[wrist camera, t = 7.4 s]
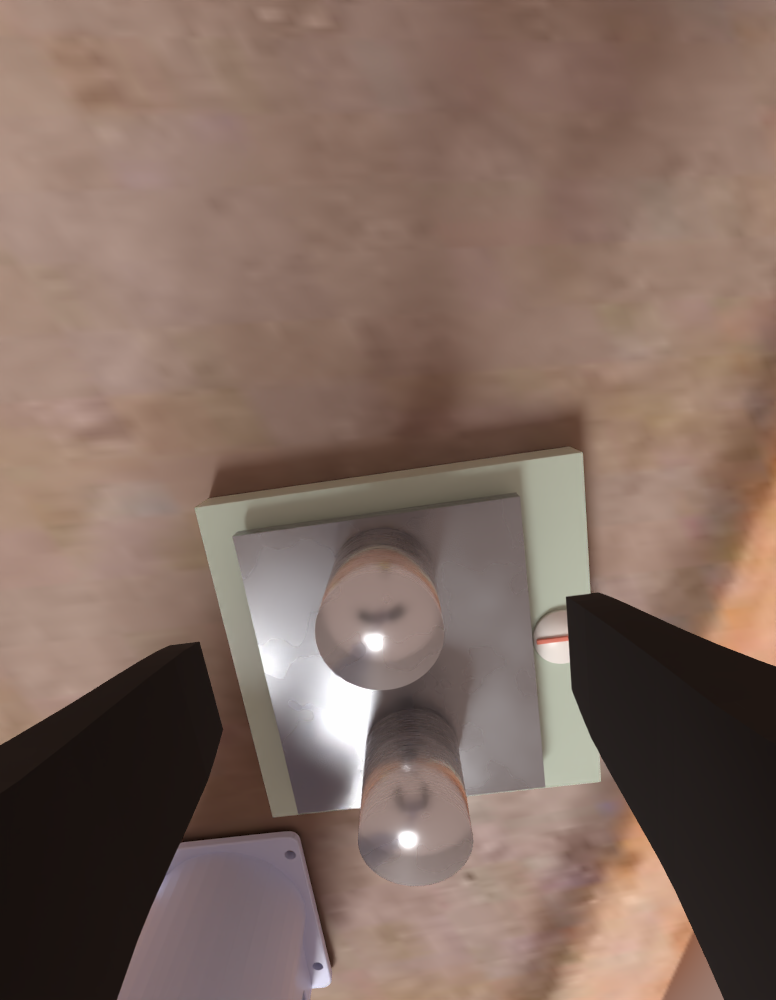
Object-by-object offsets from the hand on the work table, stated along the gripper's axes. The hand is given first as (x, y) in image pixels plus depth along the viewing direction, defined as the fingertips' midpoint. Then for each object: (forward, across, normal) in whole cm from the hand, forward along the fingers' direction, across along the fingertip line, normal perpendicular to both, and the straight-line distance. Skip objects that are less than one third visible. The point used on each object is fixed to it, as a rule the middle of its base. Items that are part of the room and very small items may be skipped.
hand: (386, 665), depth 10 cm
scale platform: (+9, 0, +5) cm, 11 cm away
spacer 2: (+8, 0, +9) cm, 12 cm away
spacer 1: (+8, 0, +2) cm, 8 cm away
